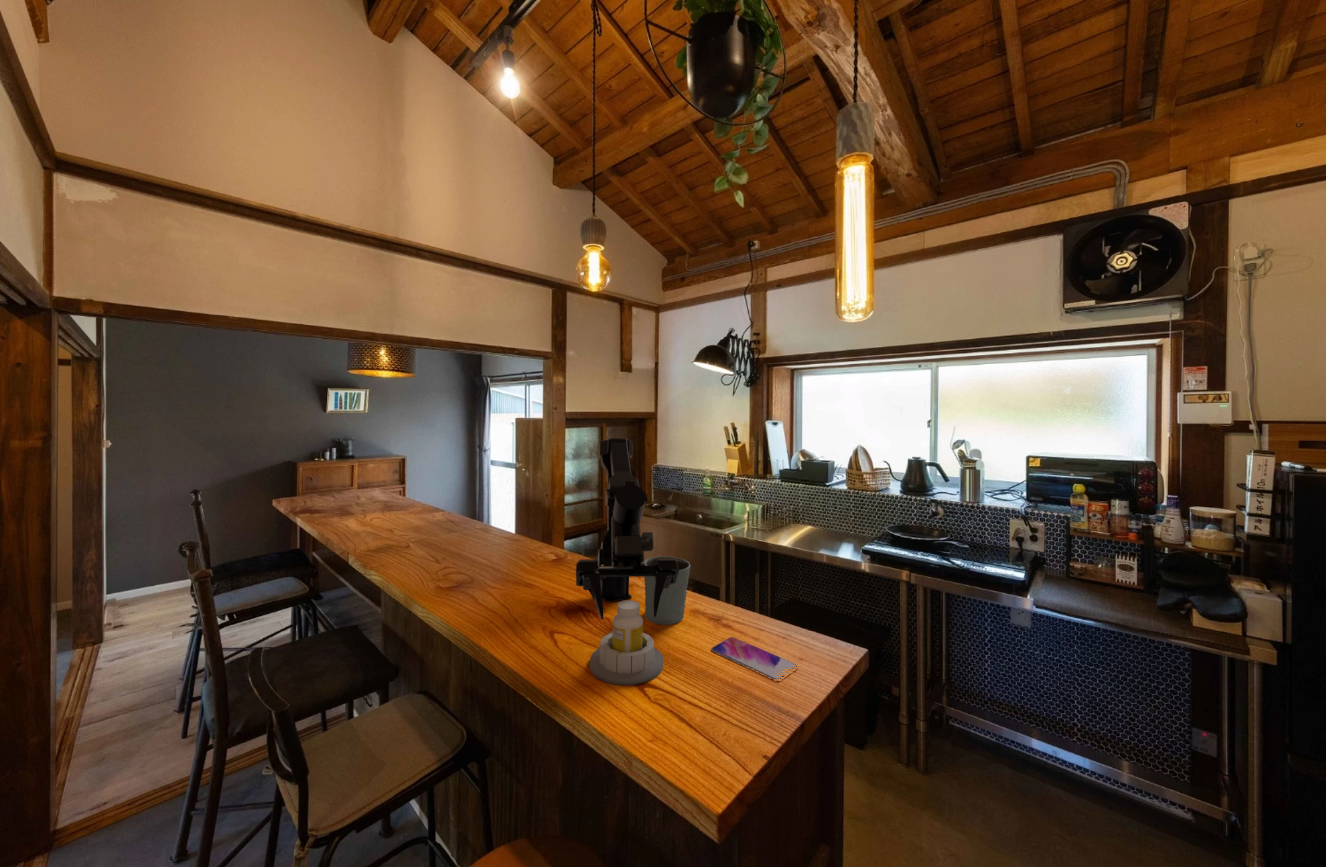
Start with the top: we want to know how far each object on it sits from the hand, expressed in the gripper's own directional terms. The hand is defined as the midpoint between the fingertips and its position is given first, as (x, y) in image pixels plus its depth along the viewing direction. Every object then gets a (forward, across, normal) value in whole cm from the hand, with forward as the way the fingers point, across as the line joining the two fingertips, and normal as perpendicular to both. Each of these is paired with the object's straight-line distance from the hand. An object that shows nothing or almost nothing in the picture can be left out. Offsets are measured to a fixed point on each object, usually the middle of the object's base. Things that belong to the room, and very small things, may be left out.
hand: (628, 617), depth 84 cm
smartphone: (+6, +23, +8) cm, 25 cm away
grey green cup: (-8, +10, +21) cm, 25 cm away
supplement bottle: (+5, 0, +7) cm, 8 cm away
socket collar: (+6, 0, +7) cm, 9 cm away
